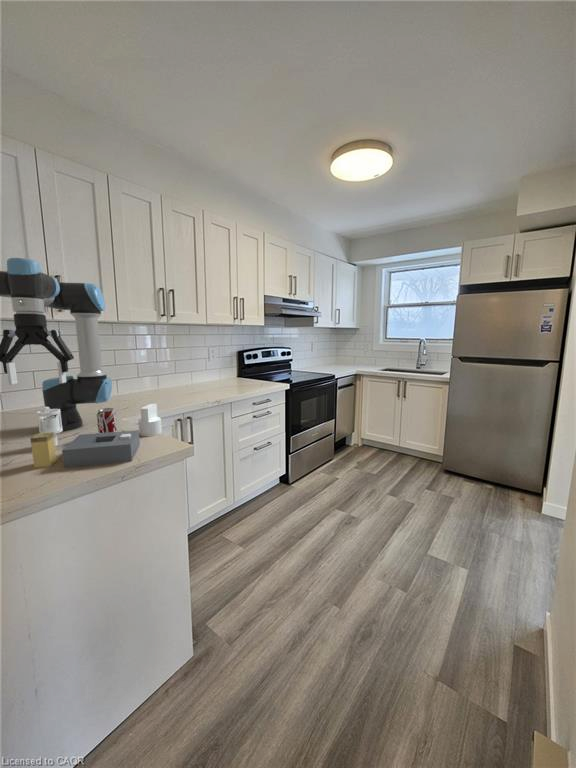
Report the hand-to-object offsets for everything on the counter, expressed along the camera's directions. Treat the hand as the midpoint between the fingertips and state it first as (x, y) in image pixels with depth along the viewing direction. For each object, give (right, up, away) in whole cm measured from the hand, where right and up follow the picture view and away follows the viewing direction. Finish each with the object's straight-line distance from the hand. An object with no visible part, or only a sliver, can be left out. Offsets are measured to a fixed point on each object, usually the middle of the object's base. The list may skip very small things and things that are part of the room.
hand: (38, 383), depth 97 cm
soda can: (+3, -23, +33) cm, 40 cm away
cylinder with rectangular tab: (+17, -22, +40) cm, 48 cm away
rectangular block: (-3, -27, +7) cm, 28 cm away
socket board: (+12, -26, +14) cm, 32 cm away
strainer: (-13, -24, +23) cm, 36 cm away
